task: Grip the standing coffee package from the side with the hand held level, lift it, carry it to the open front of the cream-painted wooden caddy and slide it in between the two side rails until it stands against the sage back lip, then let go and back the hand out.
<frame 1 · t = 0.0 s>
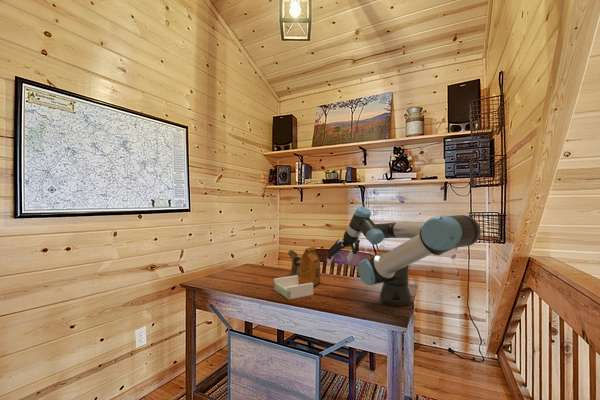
hand: (338, 261, 157), 15 cm above the table, tool tilted 35°, fingers open, 13 cm apart
coffee package: (310, 284, 165), on the table
caddy: (293, 291, 151), on the table
wooden mug: (295, 276, 184), on the table
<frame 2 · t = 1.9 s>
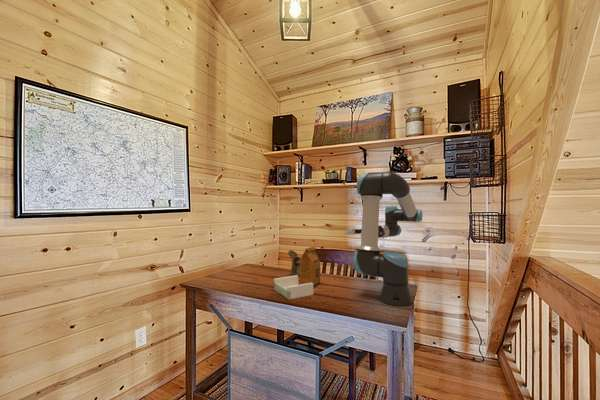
hand: (353, 233, 164), 30 cm above the table, tool horizontal, fingers open, 13 cm apart
nothing on the table moved.
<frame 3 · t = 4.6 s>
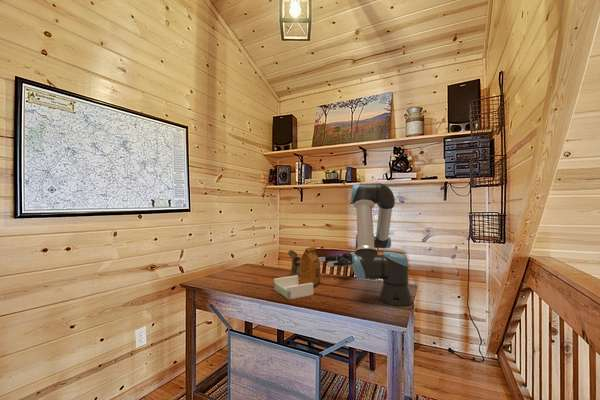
hand: (322, 262, 169), 12 cm above the table, tool horizontal, fingers open, 13 cm apart
nothing on the table moved.
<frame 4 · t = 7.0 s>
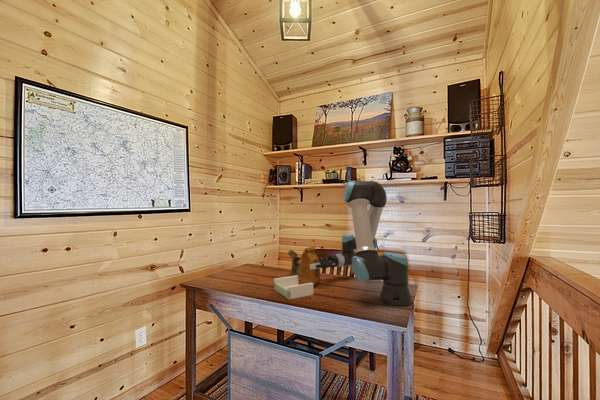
hand: (304, 264, 163), 12 cm above the table, tool horizontal, fingers closed on coffee package, 11 cm apart
coffee package: (310, 284, 165), on the table, touching gripper
everything else where it was.
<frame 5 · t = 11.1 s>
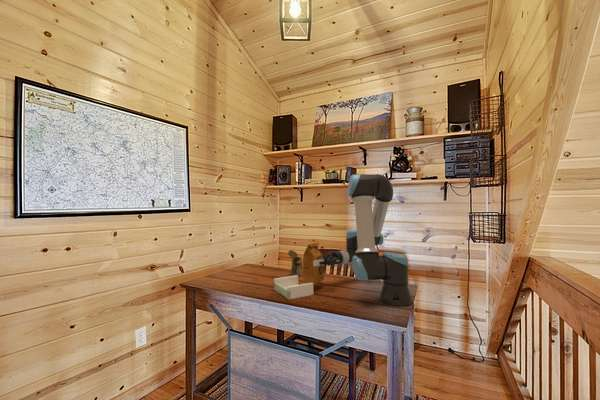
hand: (308, 261, 156), 16 cm above the table, tool horizontal, fingers closed on coffee package, 11 cm apart
coffee package: (313, 282, 158), point 3 cm above the table, touching gripper
everything else where it was.
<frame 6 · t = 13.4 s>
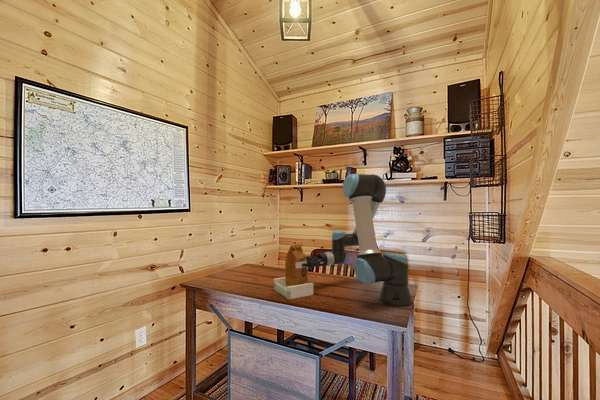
hand: (290, 263, 151), 15 cm above the table, tool horizontal, fingers closed on coffee package, 11 cm apart
coffee package: (297, 284, 153), point 3 cm above the table, touching gripper
everything else where it was.
when the fingers open (14 cm above the table, at t = 15.2 s): coffee package drops 1 cm, resting on caddy.
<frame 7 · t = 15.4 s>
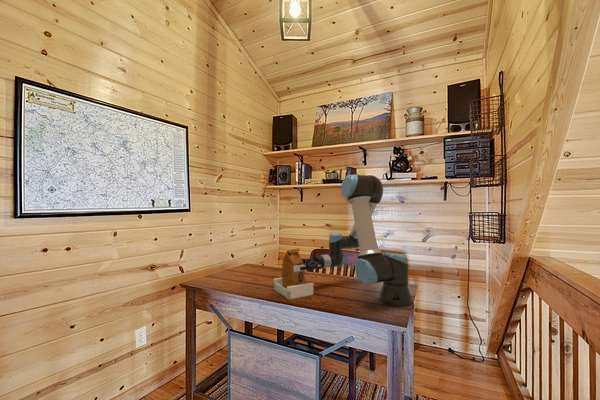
hand: (288, 266, 150), 14 cm above the table, tool horizontal, fingers open, 13 cm apart
coffee package: (294, 290, 152), point 1 cm above the table, touching caddy
everything else where it was.
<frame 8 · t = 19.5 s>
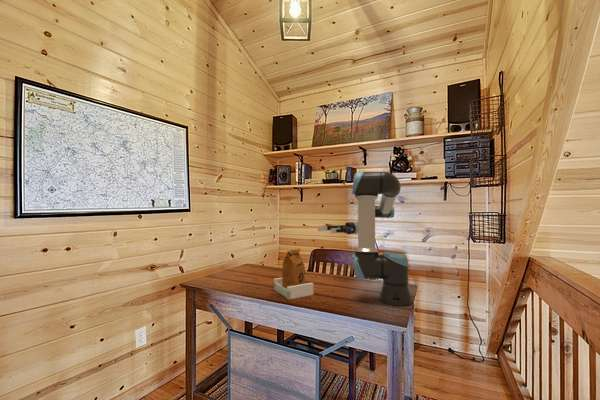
hand: (324, 229, 166), 32 cm above the table, tool horizontal, fingers open, 13 cm apart
nothing on the table moved.
at the end: coffee package inside the target area (0.5 cm from its centre), point 0.8 cm above the table; coffee package tilted 0°; the gripper is holding nothing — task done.
